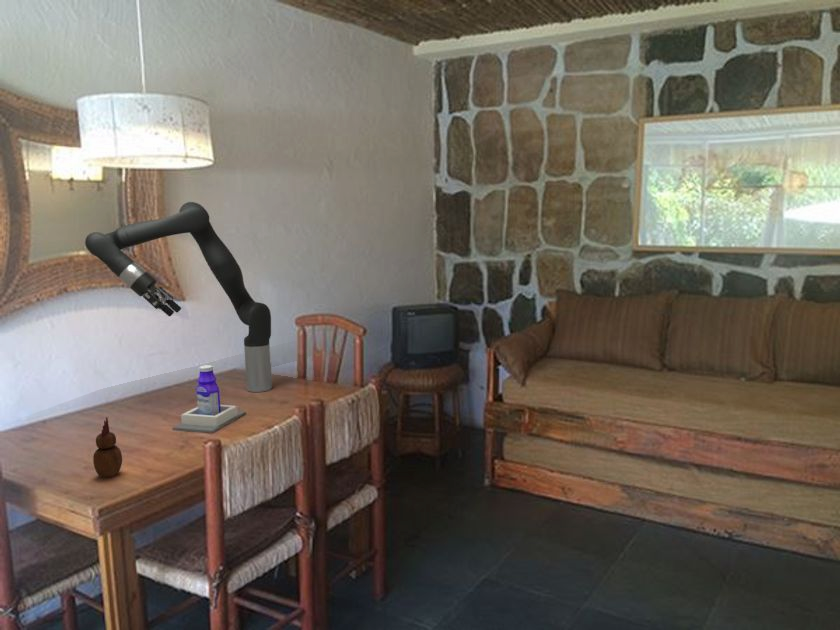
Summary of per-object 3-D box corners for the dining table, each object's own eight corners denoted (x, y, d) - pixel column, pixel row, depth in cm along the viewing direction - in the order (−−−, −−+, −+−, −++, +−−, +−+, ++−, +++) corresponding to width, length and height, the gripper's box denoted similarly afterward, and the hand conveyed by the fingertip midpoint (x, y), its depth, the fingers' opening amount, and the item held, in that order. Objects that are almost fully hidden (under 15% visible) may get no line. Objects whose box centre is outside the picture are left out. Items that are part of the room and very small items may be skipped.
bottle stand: (208, 411, 228) (208, 400, 228) (245, 413, 225) (245, 402, 224) (172, 429, 209) (171, 418, 209) (212, 433, 206) (211, 421, 205)
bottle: (194, 420, 216) (191, 367, 213) (207, 415, 221) (204, 363, 218) (211, 423, 213) (208, 369, 210) (224, 418, 218) (221, 365, 215)
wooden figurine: (109, 469, 179) (104, 414, 176) (127, 471, 177) (122, 416, 174) (90, 478, 172) (84, 422, 170) (108, 481, 170) (103, 424, 168)
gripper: (138, 273, 215) (177, 307, 218) (152, 269, 229) (189, 301, 232) (122, 290, 216) (162, 324, 218) (137, 284, 230) (174, 317, 232)
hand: (175, 312), depth 225 cm, fingers open, 8 cm apart
